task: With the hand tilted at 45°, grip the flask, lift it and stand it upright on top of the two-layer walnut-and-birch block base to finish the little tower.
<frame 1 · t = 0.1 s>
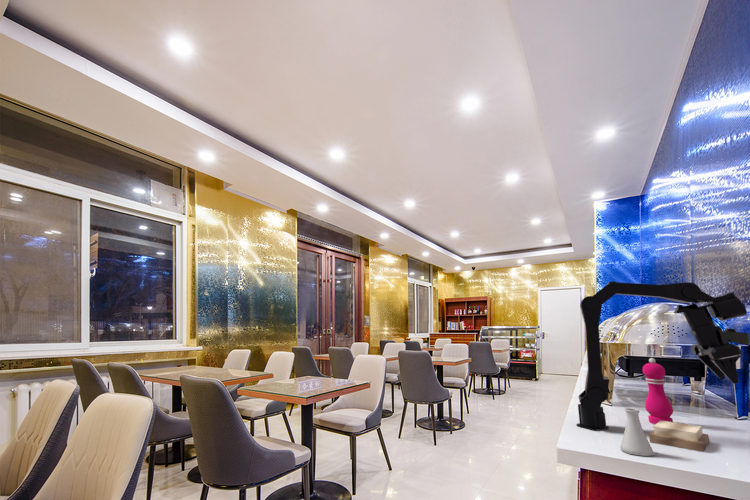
hand: (729, 381, 105), 15 cm above the counter, tool pointing down, fingers open, 9 cm apart
tower base: (679, 442, 101), on the counter
flask: (637, 453, 94), on the counter
pepper mill: (661, 423, 121), on the counter
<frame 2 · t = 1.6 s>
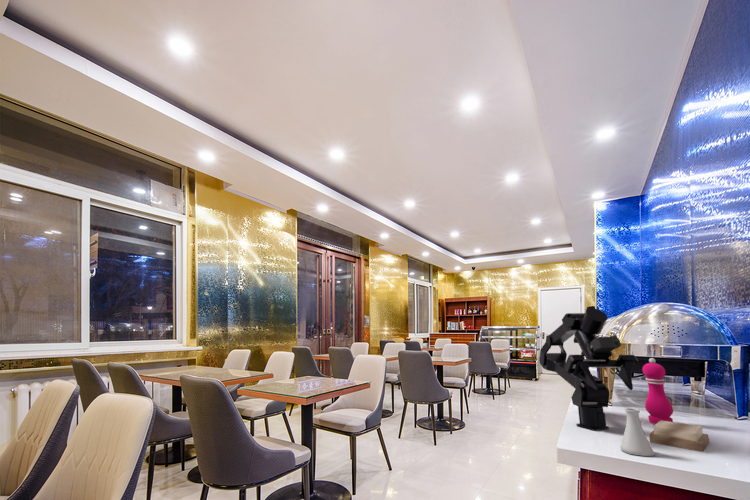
hand: (614, 389, 104), 13 cm above the counter, tool tilted 45°, fingers open, 9 cm apart
nothing on the counter moved.
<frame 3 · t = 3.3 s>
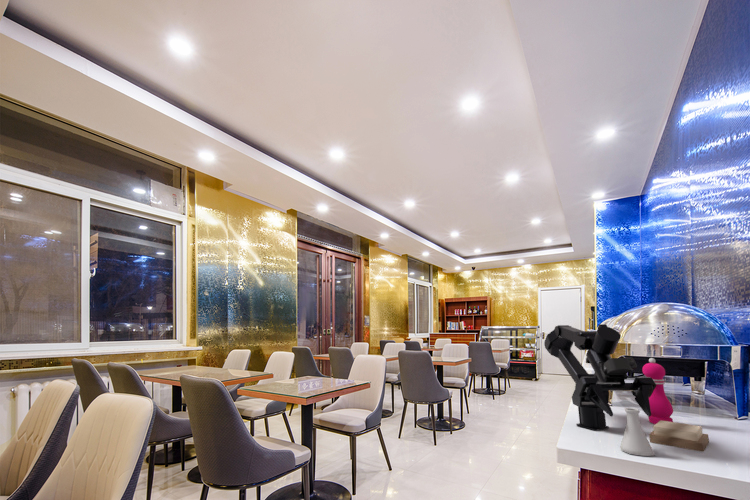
hand: (630, 415, 96), 8 cm above the counter, tool tilted 45°, fingers open, 9 cm apart
nothing on the counter moved.
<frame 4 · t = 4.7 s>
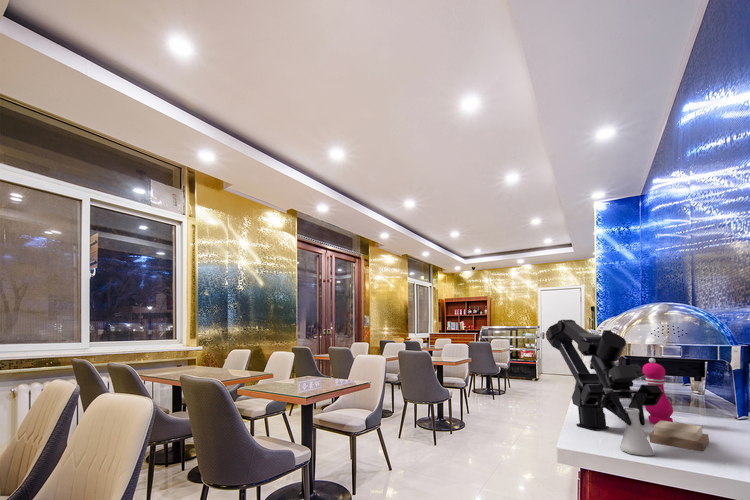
hand: (637, 424, 94), 7 cm above the counter, tool tilted 45°, fingers closed on flask, 3 cm apart
flask: (637, 452, 94), on the counter, touching gripper
everything else where it was.
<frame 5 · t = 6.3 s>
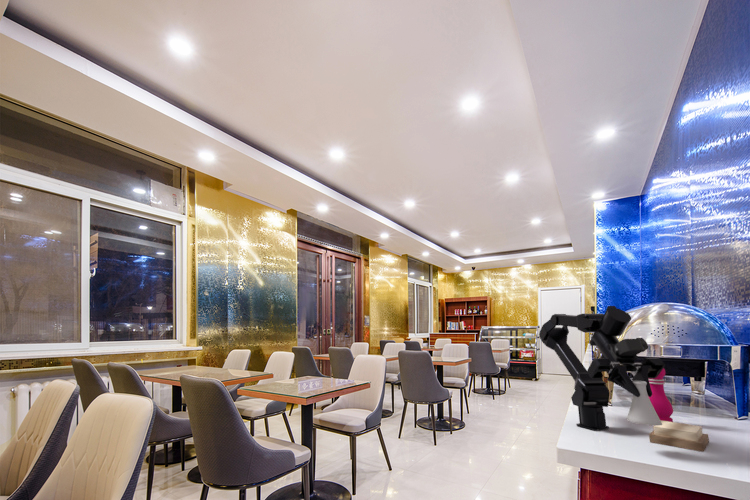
hand: (645, 395, 95), 13 cm above the counter, tool tilted 45°, fingers closed on flask, 3 cm apart
flask: (644, 423, 96), point 6 cm above the counter, touching gripper
everything else where it was.
when the fingers open (12 cm above the counter, at t = 7.9 s): flask stays where it is, resting on tower base.
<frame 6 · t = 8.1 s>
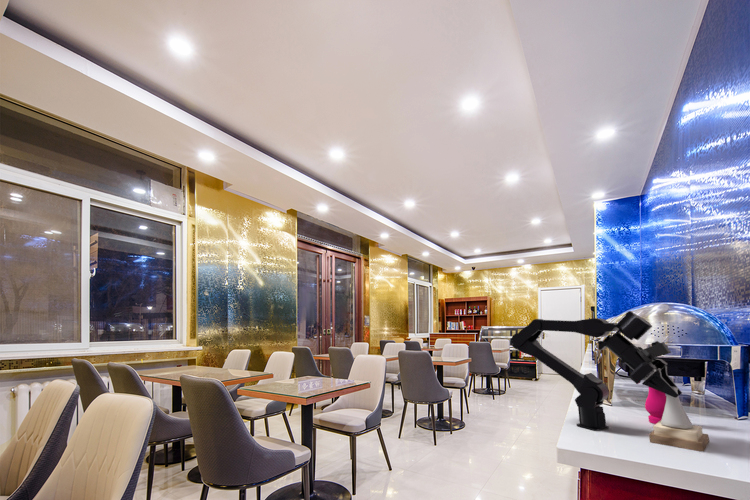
hand: (679, 395, 103), 12 cm above the counter, tool tilted 45°, fingers open, 5 cm apart
flask: (676, 426, 102), point 4 cm above the counter, touching tower base
everything else where it was.
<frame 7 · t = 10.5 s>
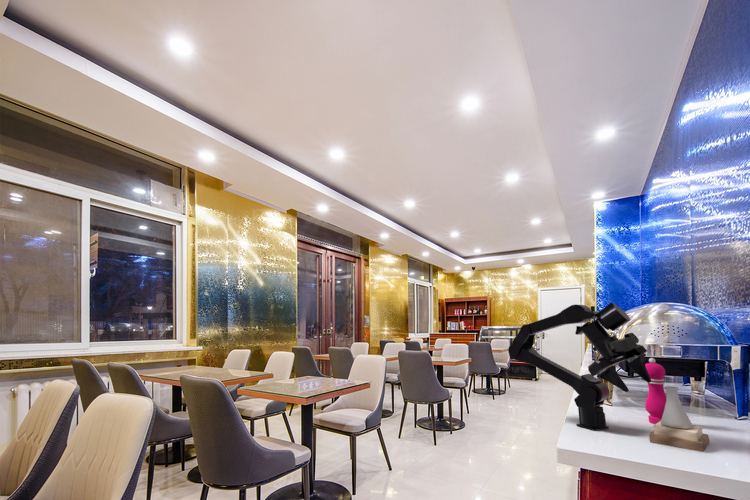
hand: (639, 386, 108), 13 cm above the counter, tool tilted 35°, fingers open, 9 cm apart
nothing on the counter moved.
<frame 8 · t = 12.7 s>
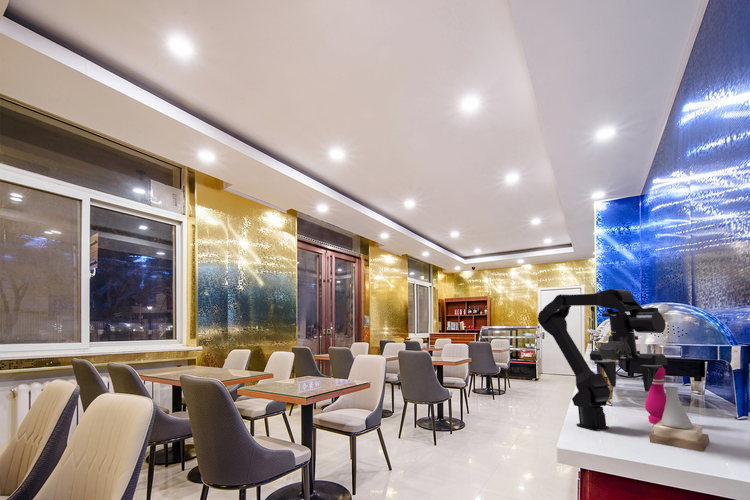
hand: (629, 389, 107), 13 cm above the counter, tool pointing down, fingers open, 9 cm apart
nothing on the counter moved.
at the end: flask 0.1 cm off-centre on the tower base, point 3.8 cm above the tower base's base; flask tilted 0°; the gripper is holding nothing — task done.
